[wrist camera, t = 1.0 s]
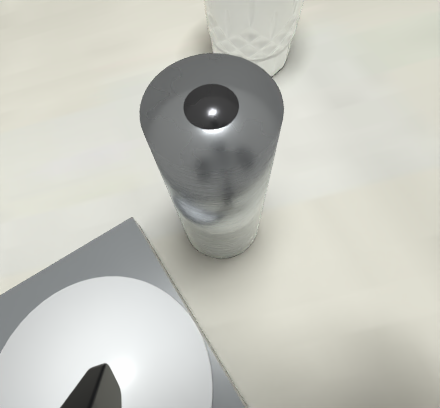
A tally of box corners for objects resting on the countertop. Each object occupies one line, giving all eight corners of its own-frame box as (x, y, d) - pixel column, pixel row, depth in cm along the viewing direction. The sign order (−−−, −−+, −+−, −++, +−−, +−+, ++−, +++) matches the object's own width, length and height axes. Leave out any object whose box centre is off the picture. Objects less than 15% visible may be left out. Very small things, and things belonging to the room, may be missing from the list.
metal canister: (273, 231, 23) (314, 120, 11) (210, 273, 22) (186, 197, 10) (231, 177, 25) (230, 32, 13) (171, 213, 24) (114, 91, 12)
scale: (276, 456, 18) (296, 507, 12) (36, 653, 15) (-77, 832, 10) (140, 226, 23) (111, 190, 18) (-55, 344, 21) (-161, 345, 15)
